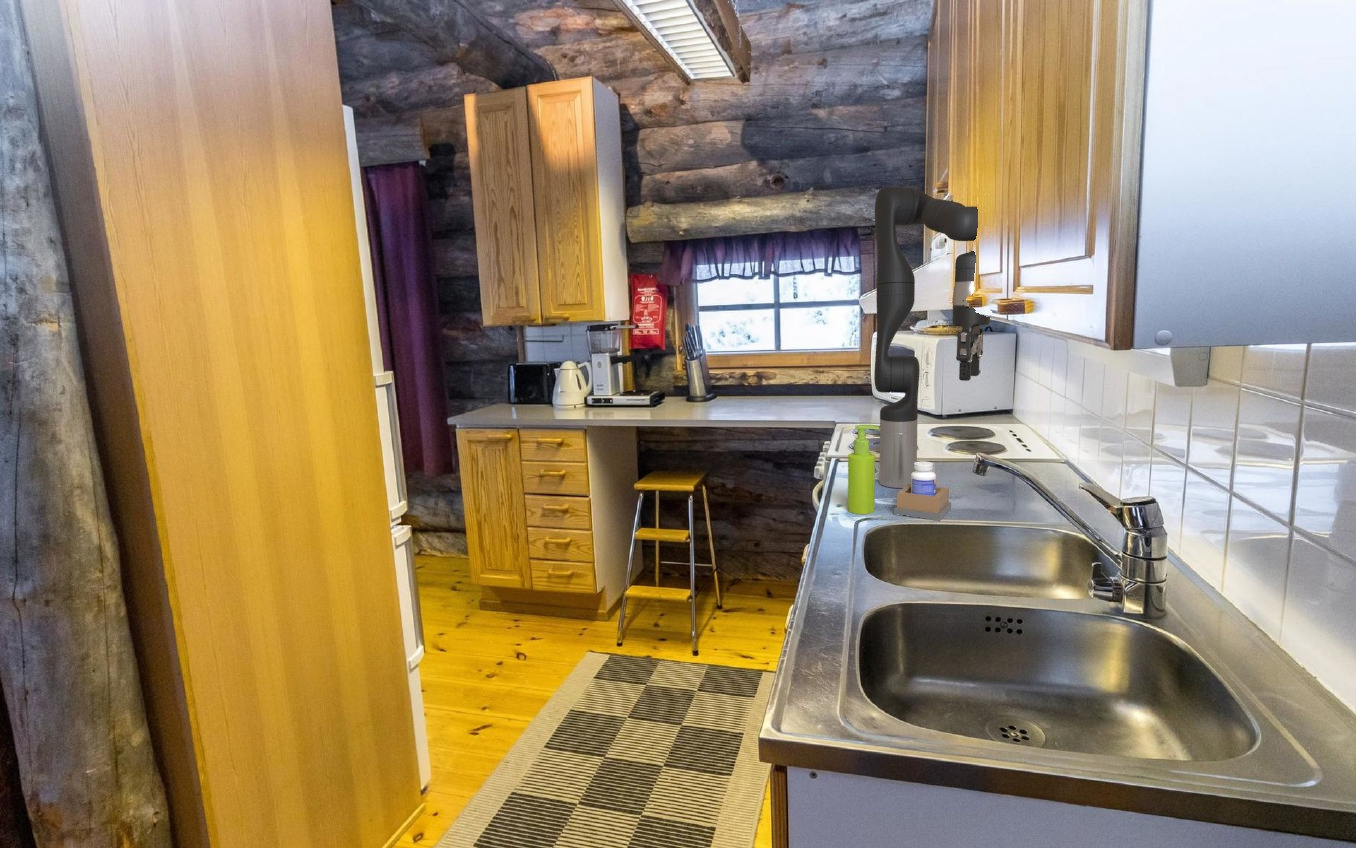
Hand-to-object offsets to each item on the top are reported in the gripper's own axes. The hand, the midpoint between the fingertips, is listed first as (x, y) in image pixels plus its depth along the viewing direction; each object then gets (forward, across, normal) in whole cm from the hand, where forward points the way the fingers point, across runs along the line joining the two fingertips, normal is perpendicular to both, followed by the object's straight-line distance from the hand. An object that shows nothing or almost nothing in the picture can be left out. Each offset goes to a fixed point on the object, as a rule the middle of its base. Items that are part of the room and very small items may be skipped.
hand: (969, 378), depth 152 cm
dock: (+30, +5, -8) cm, 32 cm away
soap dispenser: (+30, +10, -20) cm, 38 cm away
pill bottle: (+29, +5, -8) cm, 30 cm away
